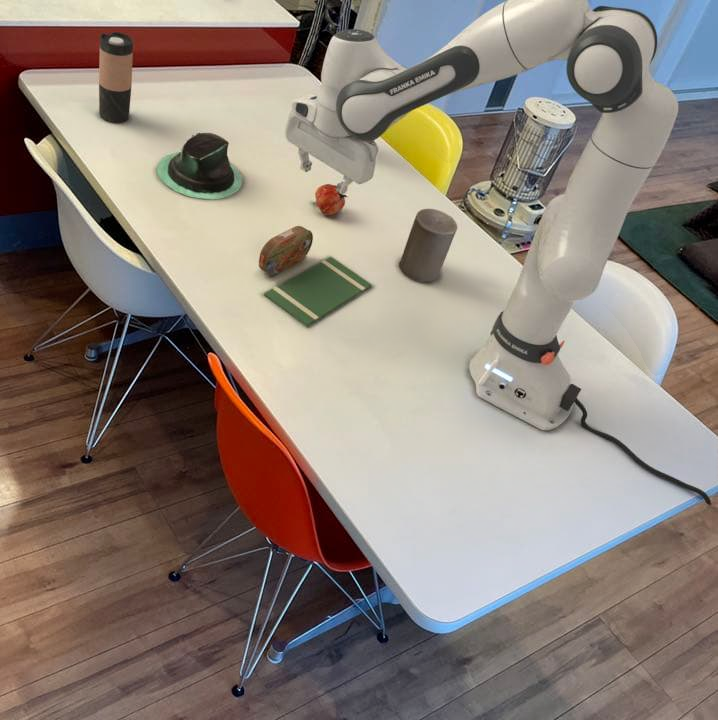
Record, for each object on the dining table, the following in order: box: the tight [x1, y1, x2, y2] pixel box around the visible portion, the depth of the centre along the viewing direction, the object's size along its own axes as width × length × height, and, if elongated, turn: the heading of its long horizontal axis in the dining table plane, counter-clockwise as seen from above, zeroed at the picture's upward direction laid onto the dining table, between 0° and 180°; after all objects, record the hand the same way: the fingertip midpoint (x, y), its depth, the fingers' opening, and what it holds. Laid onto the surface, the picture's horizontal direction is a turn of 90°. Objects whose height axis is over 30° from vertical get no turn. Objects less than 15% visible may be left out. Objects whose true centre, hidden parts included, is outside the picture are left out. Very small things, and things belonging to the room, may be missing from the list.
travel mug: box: [98, 31, 134, 124], centre depth 190 cm, size 8×8×20 cm
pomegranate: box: [312, 183, 348, 216], centre depth 187 cm, size 7×7×10 cm
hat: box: [156, 132, 243, 200], centre depth 186 cm, size 15×19×20 cm
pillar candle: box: [398, 208, 458, 283], centre depth 176 cm, size 10×10×15 cm
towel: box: [263, 256, 373, 327], centre depth 166 cm, size 12×22×1 cm, turn 142°
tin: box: [258, 225, 314, 277], centre depth 166 cm, size 15×3×8 cm, turn 142°
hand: (322, 180), depth 155 cm, fingers open, 8 cm apart
